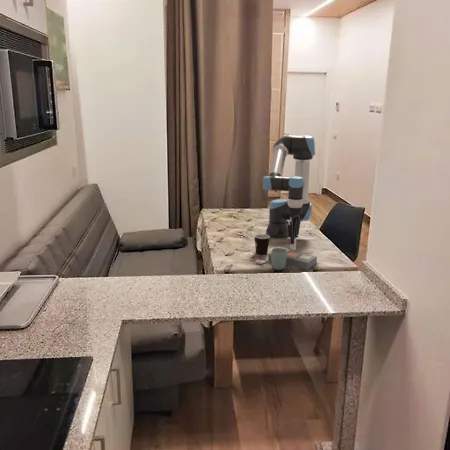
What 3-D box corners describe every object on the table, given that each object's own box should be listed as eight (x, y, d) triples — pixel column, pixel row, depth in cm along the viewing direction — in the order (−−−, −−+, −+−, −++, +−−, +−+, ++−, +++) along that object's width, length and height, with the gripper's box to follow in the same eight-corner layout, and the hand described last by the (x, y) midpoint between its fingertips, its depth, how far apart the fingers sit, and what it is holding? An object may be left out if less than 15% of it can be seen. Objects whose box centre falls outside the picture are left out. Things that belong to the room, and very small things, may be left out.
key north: (302, 261, 242) (302, 254, 241) (312, 263, 239) (312, 256, 238) (297, 264, 237) (297, 257, 236) (307, 266, 234) (308, 259, 233)
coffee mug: (268, 256, 251) (268, 239, 249) (253, 255, 253) (253, 238, 250) (270, 249, 262) (271, 233, 260) (255, 248, 264) (256, 232, 261)
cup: (275, 264, 238) (276, 247, 235) (288, 268, 234) (289, 249, 231) (268, 269, 232) (268, 250, 229) (281, 272, 228) (282, 253, 225)
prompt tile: (259, 259, 245) (259, 258, 245) (267, 261, 242) (267, 260, 242) (253, 263, 240) (253, 261, 240) (261, 265, 237) (261, 263, 237)
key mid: (289, 258, 246) (290, 251, 245) (299, 260, 243) (299, 253, 242) (284, 261, 241) (285, 254, 240) (294, 263, 238) (294, 256, 237)
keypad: (278, 255, 253) (278, 248, 252) (316, 263, 241) (316, 256, 240) (268, 260, 244) (268, 253, 243) (306, 269, 231) (307, 262, 230)
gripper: (294, 203, 241) (292, 244, 248) (282, 207, 231) (280, 250, 238) (306, 205, 237) (304, 247, 244) (295, 209, 227) (293, 253, 234)
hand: (292, 249), depth 241 cm, fingers closed
